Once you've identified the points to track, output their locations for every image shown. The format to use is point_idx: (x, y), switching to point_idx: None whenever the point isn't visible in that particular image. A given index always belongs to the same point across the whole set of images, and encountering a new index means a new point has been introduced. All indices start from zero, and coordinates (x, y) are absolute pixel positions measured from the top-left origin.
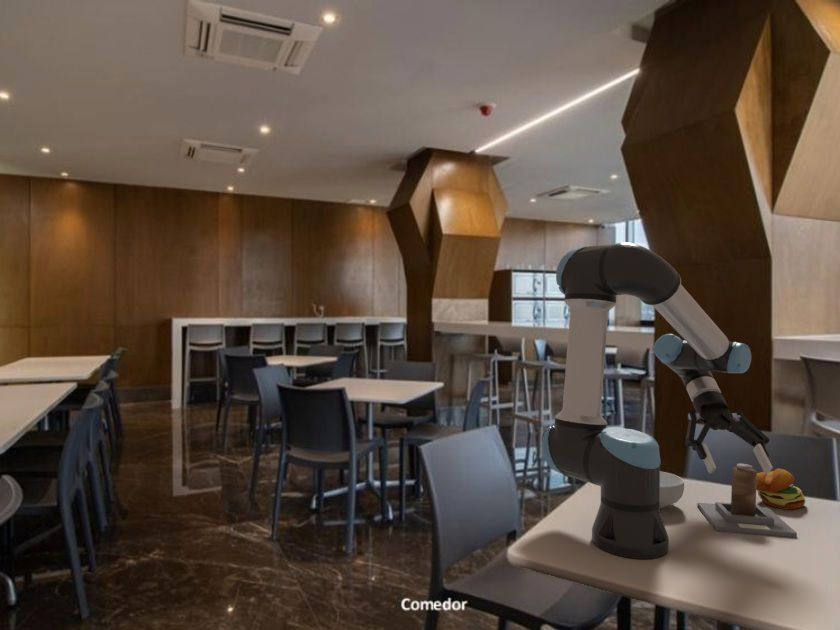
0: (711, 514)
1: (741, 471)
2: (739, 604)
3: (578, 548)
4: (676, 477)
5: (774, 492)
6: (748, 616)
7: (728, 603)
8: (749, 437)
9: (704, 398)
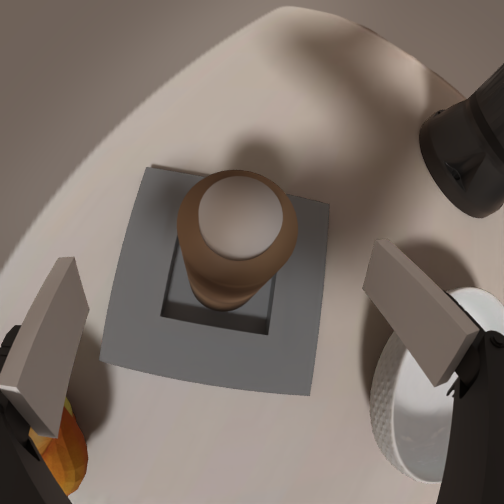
0: (310, 290)
1: (272, 189)
2: (358, 34)
3: None
4: (394, 432)
5: None
6: (355, 24)
7: (367, 37)
8: (36, 479)
9: None
